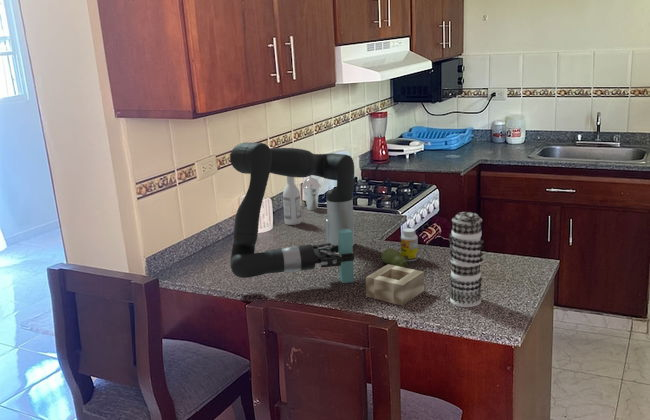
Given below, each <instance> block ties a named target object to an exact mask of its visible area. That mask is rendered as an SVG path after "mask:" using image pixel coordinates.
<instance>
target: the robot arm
mask: <svg viewBox="0 0 650 420" xmlns="http://www.w3.org/2000/svg"><path fill="white" fill-rule="evenodd" d="M229 161H230V164H231V166H232V168H233V169H235V170H236V171H237V172H239V173H240V174H245V175H246V174H248V175H250V177H249V178H250V180H249V186H248V187H247V188H248V189H247V191H246V193H245V195H244V196H243V200H241V203H240V205H239V206H238V207H237V208H238V209H237V211H236V214H235V217H234V226H233V243H232V249H231V254H230V261H229V262H230V263H229V265H230V270H231V272H232V273H233V275H234V276H236V277H237V278H241V279H248V278H254V277H258V276H259V277H260V276H263V275H267V274H279V273H292V272H302V271H307V270H309V271H310V270H314V269H315V267H316V264H320V268H330V267H339V266H341V263H342V262H347V261H353V262H354V260H355V254H354V252H353V253H349V254H341V255H340V254H339V252H338V230H340V229H350V230H351V231H352V243H353V247H354V246H355V227H354V206H353V205H354V203H353V201H354V200H353V199H354V197H353V195H354V192H355V191H354V190H355V163H354V159H353V158H352V156H351V155H348V154H343V153H330V152H329V153H313V152H312V151H310V150H306V149H302V148H295V147H274V148H272V147H271V148H270V147H269V145H267V144H266V143H263V142H240V143H239V144H237V145H235V146H234V147H233V148H232V150H231V151H230V156H229ZM270 174H272V175H277V176H284V177H287V176H288V177H294V178H309V177H310V175H311V176H315V177H319V178H323V179H325V180H326V179H327V180H329V181H336V187H335V188H330V189H329V190H327V191H326V193H325V194H326V214H327V215H326V216H327V219H325V220H324V221H325V222H324V223H325V241H326V243H322V244H320V243H319V244H314V245H313V244H311V243H310V244H300V245H293V246H286V247H282V248H275V249H267V250H264V251H261V252H255V249H256V248H255V247H256V243H257V240H258V232H259V225H260V215H261V209H262V204H263V201H264V196H265V194H266V189H267V185H268V181H269V177H270Z"/></svg>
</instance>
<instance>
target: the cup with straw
mask: <svg viewBox="0 0 650 420" xmlns="http://www.w3.org/2000/svg"><path fill="white" fill-rule="evenodd" d="M320 188H321V184H320V183H319V180H317V179H316V178H314V177H312V175H310V176H309V177H307V178H306V179H305V180H304V181H303V184H302V185H301V189H302V190H303V193H304V198H305V203H306V204H305V205H306V209H307V210H309V211H310V210H311V211H313V210H318V205H319V192H320Z"/></svg>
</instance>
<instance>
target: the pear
mask: <svg viewBox="0 0 650 420" xmlns="http://www.w3.org/2000/svg"><path fill="white" fill-rule="evenodd" d="M381 253H382V254H381V260H382V261H383V263H384V264H386V265H388V264H390V265H395V266H399V267H404V268H407V266H408V261H406V259H405V258H404V257H402V256H401V252H400V251H398V250H397V249H395V248H390V247H389V248H386V249H384V250H383V251H382V252H381Z"/></svg>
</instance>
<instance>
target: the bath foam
mask: <svg viewBox="0 0 650 420" xmlns="http://www.w3.org/2000/svg"><path fill="white" fill-rule="evenodd" d="M282 201H283V217H284V224H285V225H287V226H295V225H300V224H302V204H301V193H300V190H299V188H298V186H297V185H296V184H295V177H288V176H286V185H285V187H284V189H283V192H282Z"/></svg>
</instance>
